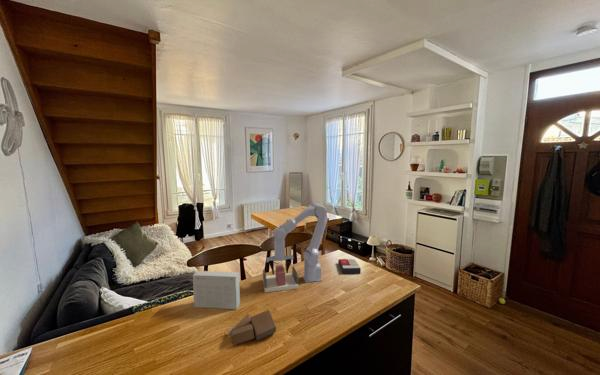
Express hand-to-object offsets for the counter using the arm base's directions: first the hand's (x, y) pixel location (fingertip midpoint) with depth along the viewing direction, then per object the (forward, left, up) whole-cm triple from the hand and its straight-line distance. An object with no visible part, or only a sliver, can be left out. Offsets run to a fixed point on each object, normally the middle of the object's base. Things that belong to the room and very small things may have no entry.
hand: (280, 272), depth 137 cm
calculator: (-45, -9, -7) cm, 47 cm away
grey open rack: (0, 0, -6) cm, 6 cm away
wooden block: (+16, +35, -7) cm, 39 cm away
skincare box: (+32, +13, -7) cm, 35 cm away
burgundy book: (0, +1, -4) cm, 4 cm away
